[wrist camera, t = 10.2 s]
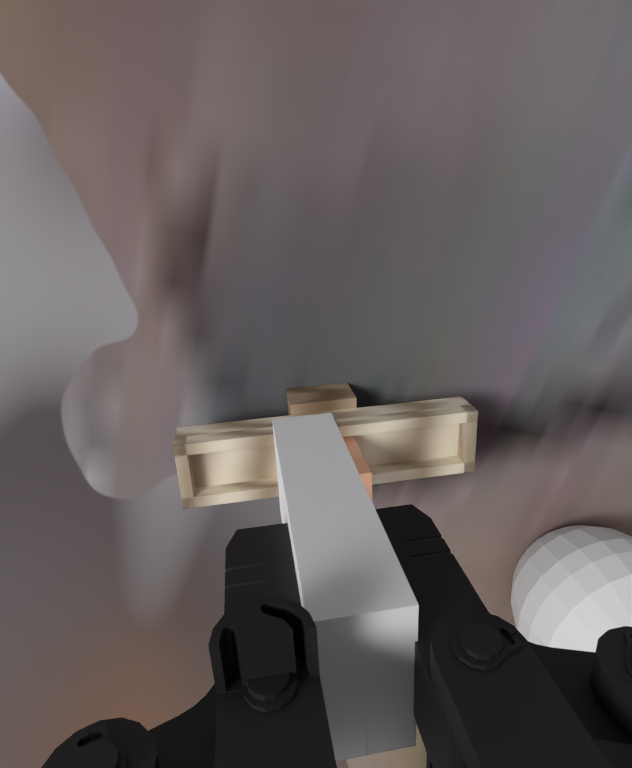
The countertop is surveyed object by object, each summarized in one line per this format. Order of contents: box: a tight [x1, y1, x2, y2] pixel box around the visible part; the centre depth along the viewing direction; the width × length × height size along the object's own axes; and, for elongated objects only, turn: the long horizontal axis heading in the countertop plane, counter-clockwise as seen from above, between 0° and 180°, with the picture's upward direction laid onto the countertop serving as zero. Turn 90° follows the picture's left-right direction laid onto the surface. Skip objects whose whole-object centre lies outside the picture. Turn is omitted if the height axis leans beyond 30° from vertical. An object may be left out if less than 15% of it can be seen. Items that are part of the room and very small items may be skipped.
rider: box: [343, 436, 372, 501], centre depth 42 cm, size 4×3×8 cm
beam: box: [173, 383, 478, 509], centre depth 47 cm, size 26×8×8 cm, turn 93°
